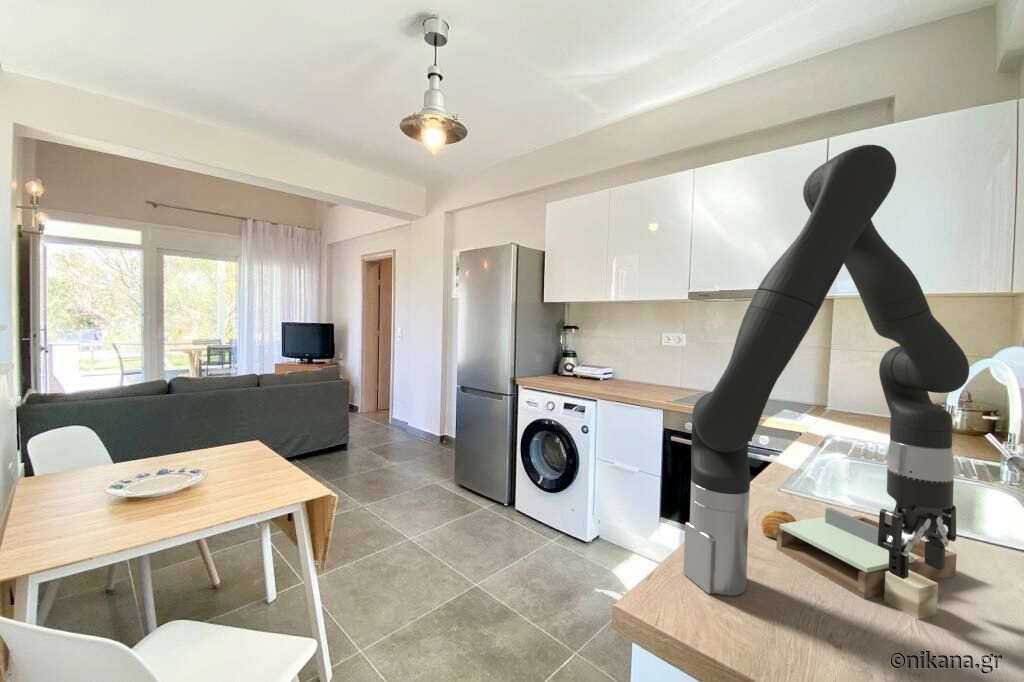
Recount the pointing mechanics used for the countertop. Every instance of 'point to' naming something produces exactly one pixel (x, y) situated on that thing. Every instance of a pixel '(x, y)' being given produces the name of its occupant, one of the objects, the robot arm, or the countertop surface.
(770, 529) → the pastry
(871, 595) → the wooden box
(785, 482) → the countertop surface
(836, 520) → the lid
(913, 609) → the block
